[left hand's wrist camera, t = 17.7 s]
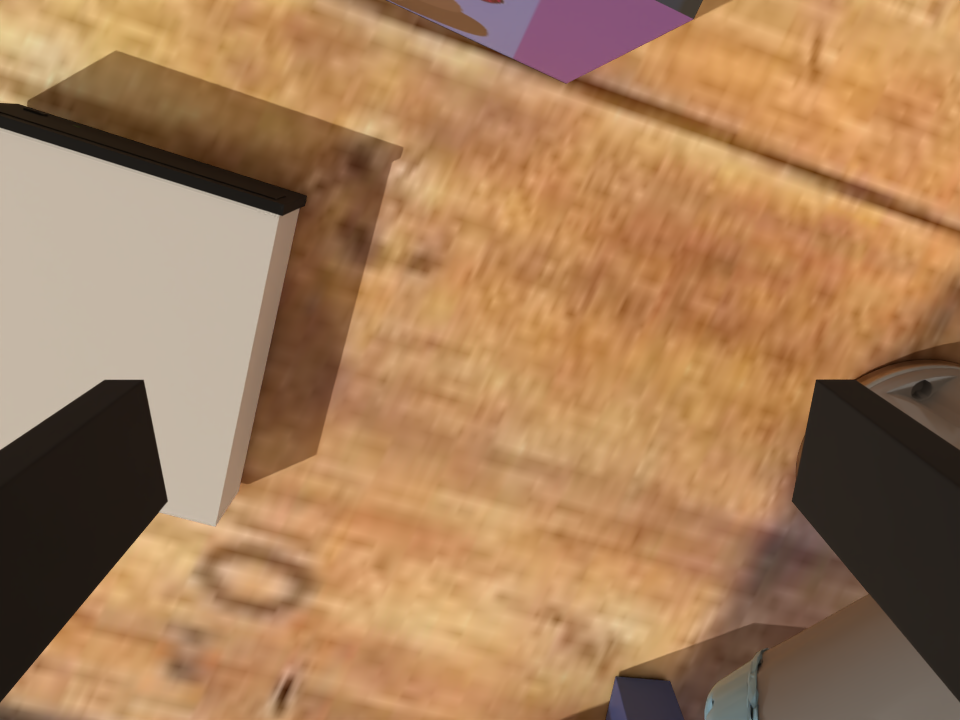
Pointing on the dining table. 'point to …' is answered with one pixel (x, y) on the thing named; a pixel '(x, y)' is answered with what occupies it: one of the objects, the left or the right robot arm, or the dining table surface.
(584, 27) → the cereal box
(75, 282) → the disc drive
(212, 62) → the dining table surface
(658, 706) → the bar
